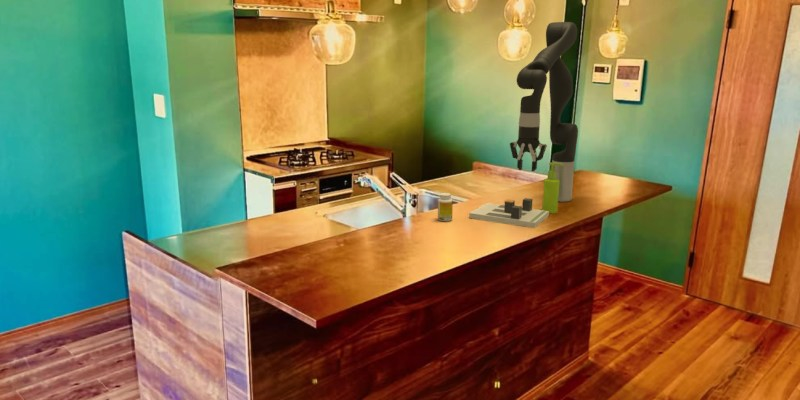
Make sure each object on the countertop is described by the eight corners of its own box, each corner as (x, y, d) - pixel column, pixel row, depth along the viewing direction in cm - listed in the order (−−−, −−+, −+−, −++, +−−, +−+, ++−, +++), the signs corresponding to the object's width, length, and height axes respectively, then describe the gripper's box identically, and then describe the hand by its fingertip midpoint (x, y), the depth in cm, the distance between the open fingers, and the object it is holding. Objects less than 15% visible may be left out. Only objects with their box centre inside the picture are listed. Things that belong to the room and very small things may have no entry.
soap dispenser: (560, 214, 223) (563, 164, 218) (542, 213, 224) (545, 164, 219) (559, 210, 229) (562, 161, 224) (541, 209, 230) (545, 161, 225)
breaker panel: (486, 207, 233) (486, 202, 232) (548, 216, 220) (548, 210, 220) (469, 217, 218) (469, 212, 217) (534, 227, 205) (534, 222, 205)
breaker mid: (506, 209, 220) (507, 199, 219) (514, 210, 219) (514, 200, 218) (504, 211, 218) (504, 200, 217) (511, 212, 216) (512, 201, 215)
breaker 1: (513, 215, 213) (514, 205, 212) (521, 216, 211) (521, 206, 210) (510, 217, 210) (511, 207, 209) (518, 218, 209) (519, 208, 208)
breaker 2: (524, 207, 223) (525, 198, 222) (531, 208, 222) (532, 199, 221) (522, 209, 221) (522, 199, 220) (529, 210, 219) (530, 200, 218)
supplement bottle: (454, 221, 214) (455, 195, 211) (441, 222, 212) (441, 196, 209) (448, 217, 219) (449, 191, 216) (435, 218, 217) (435, 193, 215)
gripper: (551, 125, 207) (548, 170, 211) (514, 122, 214) (511, 166, 218) (545, 127, 200) (542, 174, 205) (507, 124, 207) (505, 170, 212)
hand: (526, 170), depth 211 cm, fingers open, 4 cm apart
